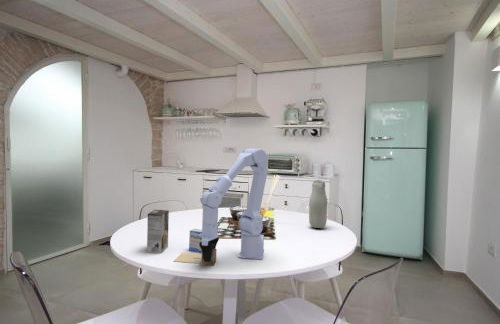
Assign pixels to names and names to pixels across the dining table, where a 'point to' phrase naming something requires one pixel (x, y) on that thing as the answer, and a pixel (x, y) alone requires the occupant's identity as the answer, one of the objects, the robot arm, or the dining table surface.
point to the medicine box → (195, 240)
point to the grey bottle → (318, 205)
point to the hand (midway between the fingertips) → (208, 259)
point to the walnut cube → (212, 261)
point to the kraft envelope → (189, 258)
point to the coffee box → (157, 231)
